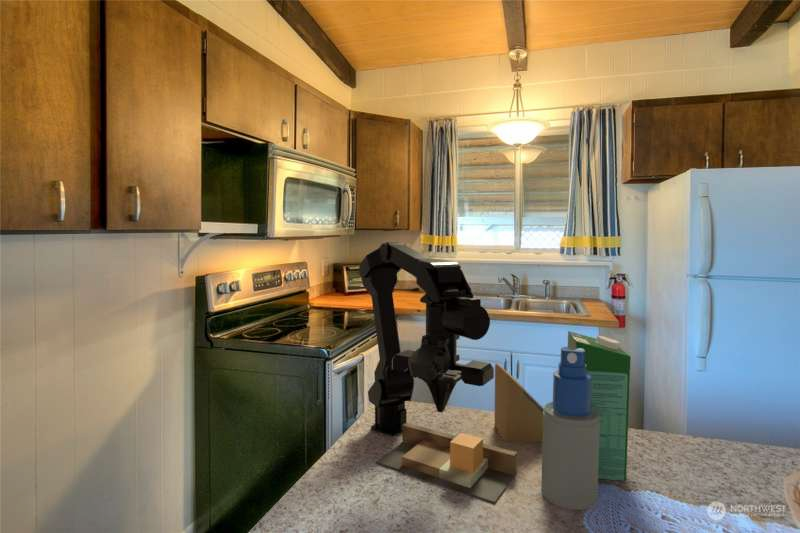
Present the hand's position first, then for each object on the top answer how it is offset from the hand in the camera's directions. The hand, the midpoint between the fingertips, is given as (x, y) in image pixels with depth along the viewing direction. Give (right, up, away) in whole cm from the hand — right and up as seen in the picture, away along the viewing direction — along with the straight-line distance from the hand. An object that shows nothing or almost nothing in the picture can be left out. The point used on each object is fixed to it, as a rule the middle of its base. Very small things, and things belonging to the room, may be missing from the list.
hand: (440, 411), depth 83 cm
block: (+4, -9, -2) cm, 10 cm away
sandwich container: (+22, -10, +16) cm, 29 cm away
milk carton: (+29, -11, +1) cm, 31 cm away
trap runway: (+1, -11, 0) cm, 11 cm away
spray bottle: (+21, -12, -8) cm, 25 cm away
